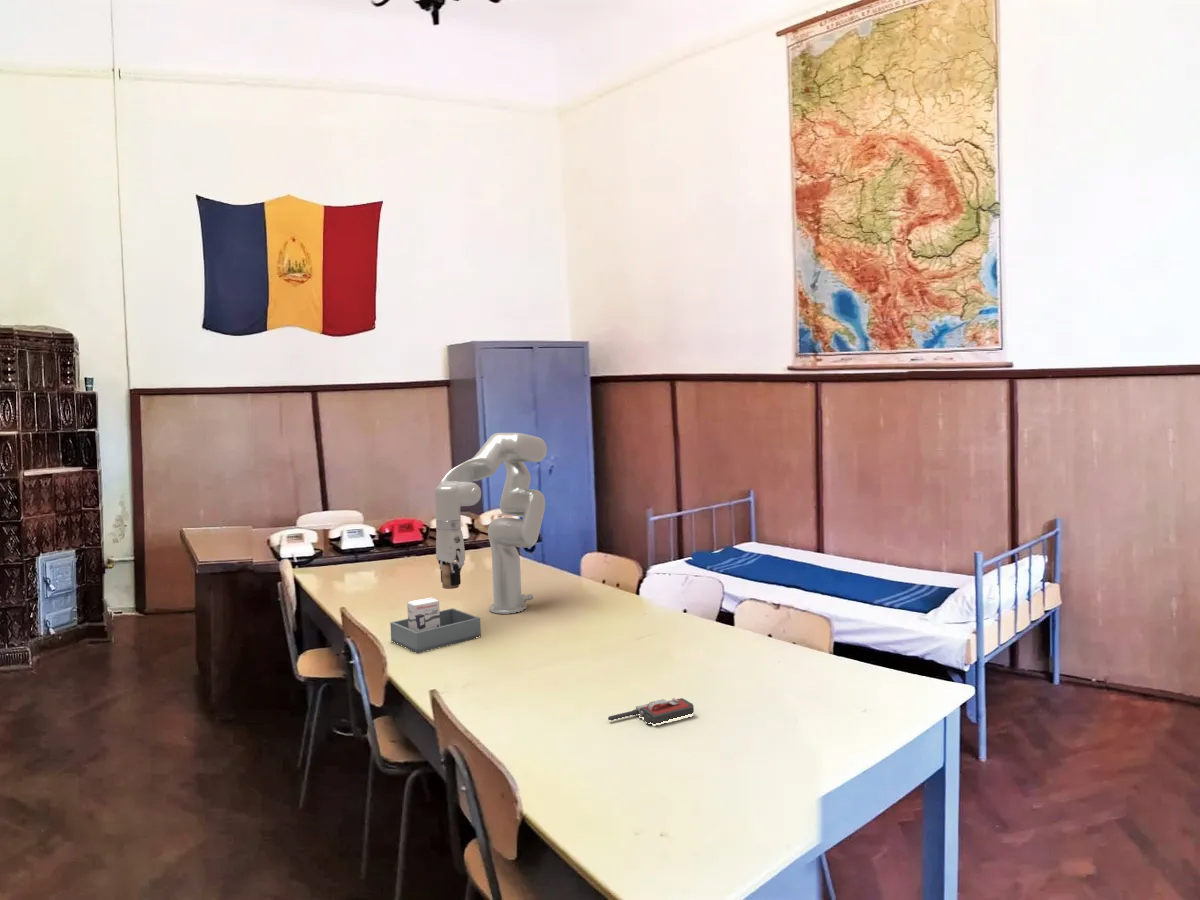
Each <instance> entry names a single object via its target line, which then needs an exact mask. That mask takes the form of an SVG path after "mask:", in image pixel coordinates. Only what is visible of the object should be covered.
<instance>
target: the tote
mask: <svg viewBox="0 0 1200 900" xmlns="http://www.w3.org/2000/svg"><path fill="white" fill-rule="evenodd" d="M439 611H440V627H437V628H433V629H429V630H425V631H420V632H416V631H413V630H411V629H409V627H408V618H404V619H400V620H396V621H392V622H389V625H390V642H391V641H393V642H395V643H398V644H400V645H402V646H404V647H406V648H408V649H410V650H409V651H411V650H412V651H411V652H413V651H414V653H415V652H416V653H415V654H420V653H419V652H421V653H424V652H423V651H425V652H428V651H427V650H429V651H432V650H431V649H433V650H436V649H435V648H437V649H439V648H438V647H441V648H444V647H448V646H452V645H456V644H459V642H460V643H463V641H464V642H466V640H468V641H470V640H469V639H472V640H475V639H477V638H476V637H479V636H481V637H482V628H481V627H482V626H481V617H478V616H476V615H473V614H471V613H467V612H464V611H461V610H459V609H456V608H452V607H451V608H448V609H443V610H439ZM474 638H475V639H474ZM479 638H480V637H479ZM393 642H392V643H393ZM395 643H394V644H395ZM451 644H452V645H451ZM400 645H399V646H400ZM447 645H448V646H447ZM402 646H401V647H402ZM443 646H444V647H443ZM404 647H403V648H404ZM406 648H405V649H406ZM408 649H407V650H408Z"/></svg>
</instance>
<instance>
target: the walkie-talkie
mask: <svg viewBox="0 0 1200 900" xmlns="http://www.w3.org/2000/svg"><path fill="white" fill-rule="evenodd" d="M694 709H695V708H694V704H693V703H692V702H690V701H688V700H686V699H685V698H683V697H681V698H677V699H676V698H674V697H673V698H672V699H671V700H665V699H664V698H663V699H657V700H656V701H655V700H653V701H649V703H646V704H642V705H637V706H635V709H633V710H630V711H627V712H621V713H617V714H613V715H609V716H608V717H607V720H608V721H609V720H611V721H615V720H614V719H616V720H619V719H618V718H620V719H623V718H622V717H624V718H626V717H625V716H628V717H631V716H630V715H632V716H634V715H635V716H637V717H638V716H640V717H644V720H645V721H646V722H647V723H650V722H651V723H653V724H656V723H661V722H663V721H668V720H669V719H673V718H677V717H681V716H685V715H688V714H692V713H693V712H694V711H695V710H694ZM636 714H640V715H636ZM644 720H643V721H644ZM645 721H644V722H645Z"/></svg>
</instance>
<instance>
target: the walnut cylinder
mask: <svg viewBox="0 0 1200 900" xmlns="http://www.w3.org/2000/svg"><path fill="white" fill-rule="evenodd" d="M456 565H457V564H454V567H455V566H456ZM450 573H452V571H451V566H450V563H445V564H442V582H441V583H442V585H441V586H442V588H443V589H446V590H453V589H457V588H459V587H460V585H455V586H451V577H450Z"/></svg>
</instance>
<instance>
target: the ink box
mask: <svg viewBox="0 0 1200 900" xmlns="http://www.w3.org/2000/svg"><path fill="white" fill-rule="evenodd" d="M406 607H407V608H406V609H407V619H408V627H409V629H411V630H413V631H416V632H420V631H425V630H429V629H433V628H437V627H440V611H441V610H440V601H439V600H438V599H436V598H434V597H431V596H430V597H427V598H422V599H421V598H420V599H414V600H411V601H408V602H407V604H406Z"/></svg>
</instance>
